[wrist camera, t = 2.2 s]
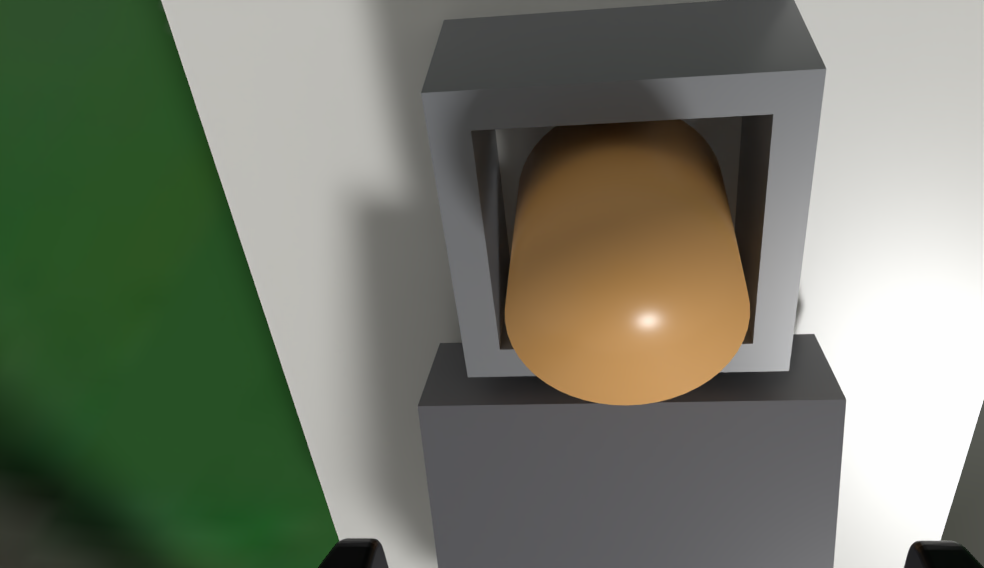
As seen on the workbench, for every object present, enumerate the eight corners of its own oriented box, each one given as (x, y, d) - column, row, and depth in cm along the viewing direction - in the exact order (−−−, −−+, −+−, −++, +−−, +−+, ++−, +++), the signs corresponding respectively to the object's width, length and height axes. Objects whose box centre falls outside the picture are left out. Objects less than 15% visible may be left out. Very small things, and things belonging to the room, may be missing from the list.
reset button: (718, 274, 15) (742, 403, 13) (526, 280, 16) (516, 406, 13) (728, 98, 13) (758, 213, 11) (508, 111, 14) (492, 224, 11)
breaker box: (863, 547, 27) (926, 772, 22) (402, 545, 29) (363, 753, 24) (1032, -195, 15) (1254, -75, 10) (226, -121, 17) (72, 14, 12)
